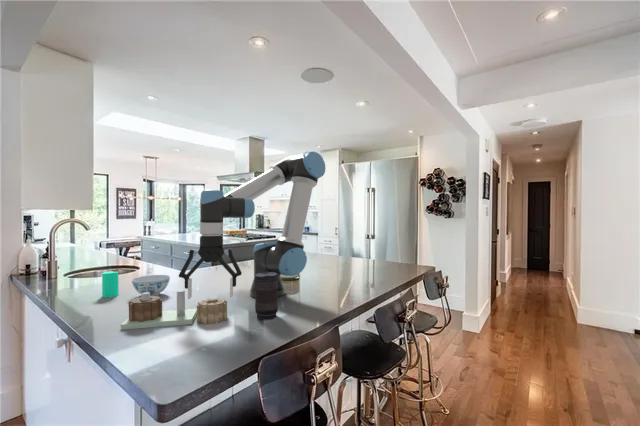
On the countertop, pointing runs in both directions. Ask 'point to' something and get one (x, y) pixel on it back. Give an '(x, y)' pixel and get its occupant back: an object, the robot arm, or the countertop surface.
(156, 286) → the chinaware
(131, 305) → the walnut gear
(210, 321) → the maple gear
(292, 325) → the countertop surface
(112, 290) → the candle
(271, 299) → the camera lens
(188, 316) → the gear board
